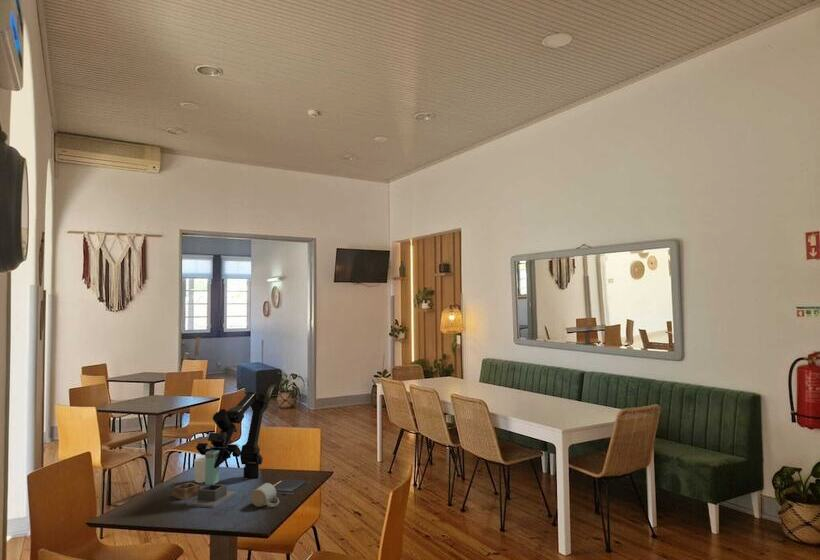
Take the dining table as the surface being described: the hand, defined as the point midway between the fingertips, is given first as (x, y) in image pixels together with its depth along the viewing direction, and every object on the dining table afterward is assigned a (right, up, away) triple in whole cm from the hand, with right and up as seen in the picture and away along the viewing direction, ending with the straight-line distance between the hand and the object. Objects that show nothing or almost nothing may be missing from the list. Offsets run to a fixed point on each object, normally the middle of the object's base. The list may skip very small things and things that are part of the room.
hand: (210, 467), depth 230 cm
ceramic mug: (+25, -13, -6) cm, 29 cm away
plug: (0, -7, +1) cm, 7 cm away
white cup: (-14, -16, +27) cm, 34 cm away
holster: (-12, -14, +6) cm, 20 cm away
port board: (+1, -13, 0) cm, 14 cm away
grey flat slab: (+28, -15, +17) cm, 36 cm away
